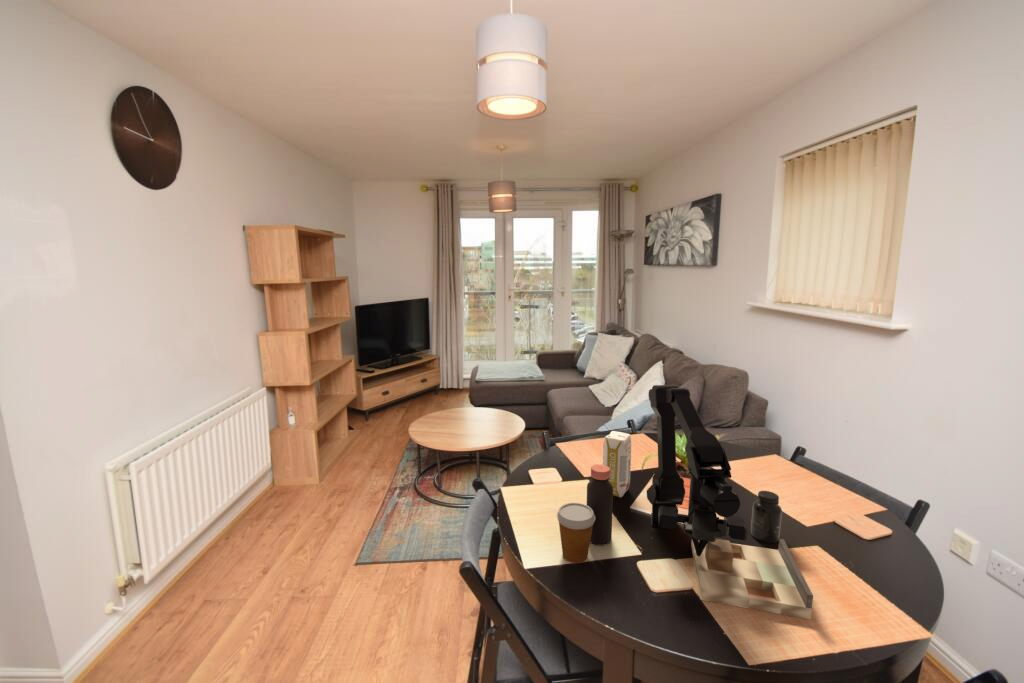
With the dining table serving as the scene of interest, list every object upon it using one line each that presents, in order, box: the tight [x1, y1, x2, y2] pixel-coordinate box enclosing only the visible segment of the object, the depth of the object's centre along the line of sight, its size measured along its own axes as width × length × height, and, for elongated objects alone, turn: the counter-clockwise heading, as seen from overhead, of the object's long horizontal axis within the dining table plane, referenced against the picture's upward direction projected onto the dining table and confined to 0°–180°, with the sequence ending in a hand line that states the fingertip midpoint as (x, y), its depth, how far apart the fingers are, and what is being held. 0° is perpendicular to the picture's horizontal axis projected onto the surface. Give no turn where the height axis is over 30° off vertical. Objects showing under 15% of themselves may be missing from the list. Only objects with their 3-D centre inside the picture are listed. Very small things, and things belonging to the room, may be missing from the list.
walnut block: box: [705, 538, 734, 573], centre depth 105 cm, size 5×5×5 cm
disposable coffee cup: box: [556, 502, 595, 564], centre depth 113 cm, size 10×10×12 cm
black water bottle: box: [586, 463, 614, 546], centre depth 119 cm, size 7×7×20 cm
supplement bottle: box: [750, 490, 783, 544], centre depth 120 cm, size 7×7×12 cm
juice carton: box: [602, 430, 632, 498], centre depth 145 cm, size 8×9×19 cm
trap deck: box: [690, 538, 814, 620], centre depth 104 cm, size 21×20×6 cm
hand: (698, 555), depth 107 cm, fingers closed
